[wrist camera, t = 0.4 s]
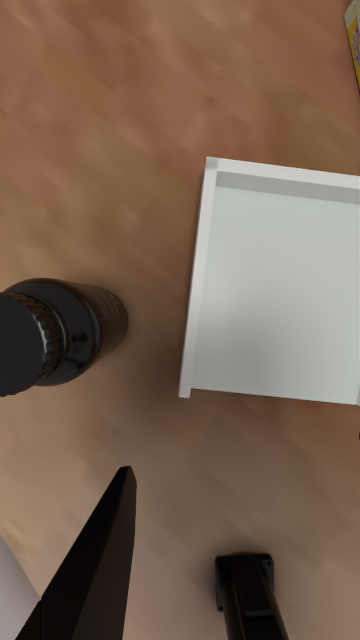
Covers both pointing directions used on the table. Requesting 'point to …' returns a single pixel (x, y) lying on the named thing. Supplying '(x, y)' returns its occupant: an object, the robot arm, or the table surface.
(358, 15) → the candy box
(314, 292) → the tray
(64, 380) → the supplement bottle
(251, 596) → the robot arm
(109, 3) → the table surface
